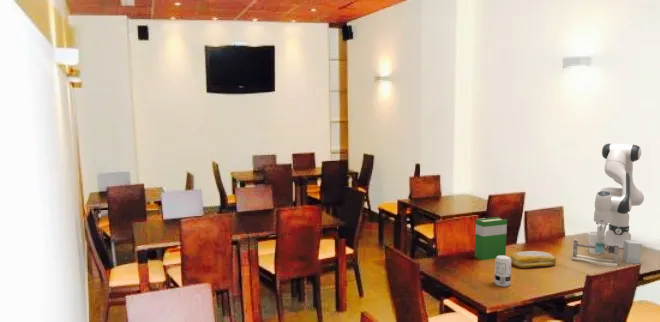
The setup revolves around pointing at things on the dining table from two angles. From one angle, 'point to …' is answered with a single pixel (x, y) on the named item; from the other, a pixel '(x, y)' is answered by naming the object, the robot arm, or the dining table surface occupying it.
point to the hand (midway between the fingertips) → (600, 240)
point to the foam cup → (593, 241)
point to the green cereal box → (490, 238)
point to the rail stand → (592, 259)
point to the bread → (532, 259)
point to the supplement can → (502, 270)
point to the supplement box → (631, 251)
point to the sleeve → (600, 247)
